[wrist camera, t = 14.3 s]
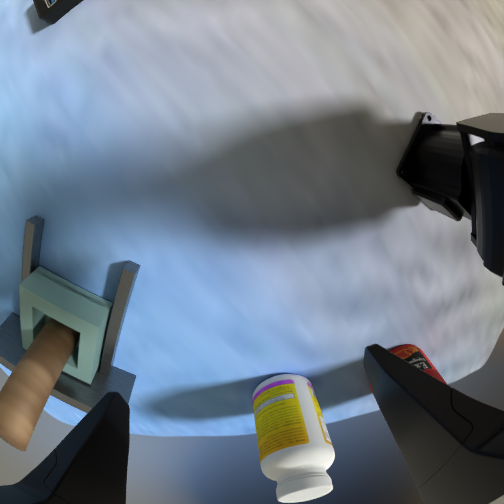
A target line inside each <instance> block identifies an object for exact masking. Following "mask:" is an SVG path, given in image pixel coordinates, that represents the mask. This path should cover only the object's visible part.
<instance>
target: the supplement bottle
mask: <svg viewBox="0 0 504 504" xmlns="http://www.w3.org/2000/svg"><path fill="white" fill-rule="evenodd" d="M252 401H253V410H254V418H255V425H256V433H257V441H258V447H259V456H260V463H261V469H262V472H263V473H264V475H265V476H267V477H268V478H270V479H272V480H275V481H277V483H278V485H277V489H276V494H277V499H278V501H279V502H283V503H294V502H302V501H307V500H311V499H314V498H318V497H321V496H323V495H325V494H327V493H329V492H330V491H332V489H333V486H332V481H331V478H330V477H329V476H328V474H326V470H327V469H328V468H329V467H330V466H331V464H332V463H333V461H334V458H335V453H334V449H333V446H332V443H331V440H330V437H329V434H328V431H327V428H326V425H325V422H324V419H323V415H322V412H321V409H320V406H319V403H318V400H317V397H316V394H315V391H314V388H313V386H312V384H311V382H310V381H309V380H308V379H307V378H305V377H303V376H300V375H295V374H282V375H277V376H274V377H271V378H269V379H267V380H265V381H263V382H262V383H260V384H259V385H258V386H257V387H256V389H255V390H254V392H253V396H252Z"/></svg>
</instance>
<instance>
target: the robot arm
mask: <svg viewBox="0 0 504 504" xmlns="http://www.w3.org/2000/svg"><path fill="white" fill-rule="evenodd" d="M427 116H428V118H429V120H428V119H427ZM456 124H457V125H448V124H441V123H440V122H439V121H438V120H437V119H436V118H435V117H434V116H433V115H432V114H431V113H429V112H425V113H423V115H422V117H421V119H420V122H419V124H418V126H417V128H416V131H415V133H414V135H413V137H412V139H411V141H410V143H409V146H408V148H407V150H406V152H405V154H404V156H403V158H402V160H401V162H400V164H399V166H398V168H397V171H396V174H397V176H398V177H399V178H400V179H401V180H403V181H404V182H405V183H406V184H408V185H409V186H410V187H411V188H412V193H413V194H414V195H415V196H416V197H417V198H418V199H420V200H421V201H422V202H423V203H424V204H425V205H427V206H428V207H429V208H431V209H433V210H435V211H437V212H439V213H442V214H444V215H446V216H448V217H450V218H452V219H454V220H456V221H460V220H461V219H462V217H463V216H464V217H466V218H468V219H470V220H472V233H471V241H472V242H473V243H474V245H475V246H476V247H477V251H478V253H479V255H480V256H481V258H482V260H483V261H484V262H483V265H484V266H485V267H486V268H487V269H488V270H490V271H491V272H492V273H494V274H496V275H498V276H500V277H502V278H503V281H502V285H503V286H504V113H489V114H485V115H481V116H477V117H474V118H470V119H466V120H463V121H459V122H456ZM402 170H403V171H404V173H403V175H402V173H401V172H402ZM364 368H365V371H366V374H367V376H368V379H369V382H370V385H371V387H372V390H373V393H374V396H375V399H376V401H377V404H378V406H379V408H380V410H381V412H382V414H383V416H384V418H385V420H386V422H387V424H388V426H389V428H390V430H391V432H392V434H393V436H394V438H395V440H396V442H397V445H398V447H399V449H400V451H401V453H402V455H403V457H404V459H405V461H406V463H407V466H408V468H409V470H410V472H411V474H412V477H413V479H414V481H415V483H416V485H417V488H418V490H419V493H420V495H421V497H422V499H423V502H424V504H504V411H502V410H500V409H497V408H495V407H492V406H489V405H487V404H485V403H482V402H480V401H477V400H475V399H473V398H471V397H469V396H467V395H465V394H463V393H461V392H459V391H458V390H456V389H454V388H451V387H450V386H449V385H447V384H445V383H443V382H442V381H440V380H438V379H436V378H435V377H433V376H431V375H430V374H428V373H426V372H424V371H423V370H421V369H419V368H417V367H416V366H414V365H412V364H410V363H409V362H407V361H405V360H404V359H402V358H400V357H398V356H397V355H395V354H393V353H392V352H390V351H388V350H387V349H385V348H383V347H381V346H380V345H378V344H373V345H370V346H367V347H366V348H365V353H364ZM129 415H130V409H129V405H128V403H127V402H126V401H125V400H124V398H123V397H122V396H121V394H120V393H119V392H117V391H110V392H107V393H106V394H105V395H104V397H103V398H102V399H101V400H100V401H99V402H98V403H97V404H96V405H95V406H94V407H93V408H92V409H91V410H90V411H89V412H88V414H87V415H86V416H85V417H84V418H83V419H82V420H81V421H80V422H79V423H78V424H77V425H76V426H75V427H74V429H73V430H72V431H71V432H70V433H69V434H68V435H67V436H66V437H65V438H64V439H63V440H62V441H61V442H60V444H59V445H58V446H57V447H56V448H55V449H54V450H53V451H52V452H51V453H50V454H49V455H48V456H47V457H46V458H45V459H44V460H43V461H42V462H41V463H40V464H39V465H38V466H37V467H36V468H35V469H34V470H32V471H31V472H30V473H29V474H28V475H27V476H26V477H24V478H23V479H22V480H21V481H20V482H18V483H16V484H13V485H5V486H0V504H126V481H127V466H128V454H129Z"/></svg>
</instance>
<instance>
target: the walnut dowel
mask: <svg viewBox="0 0 504 504" xmlns="http://www.w3.org/2000/svg"><path fill="white" fill-rule="evenodd" d="M79 340H80V332H78V331H76V330H74V329H72V328H70V327H68V326H66V325H64V324H62V323H61V322H59V321H57V320H55V319H53V318H50V319H49V320H48V322H47V323H46V324H45V326H44V327H43V328H42V330H41V331H40V332H39V334H38V335H37V336H36V338H35V339H34V341H33V342H32V343H31V345H30V346H29V348H28V349H27V351H26V352H25V353H24V355H23V356H22V358H21V359H20V361H19V362H18V364H17V366H16V367H15V369H14V370H13V372H12V373H11V375H10V376H9V378H8V380H7V382H6V383H5V385H4V386H3V388H2V390H1V391H0V437H1V438H2V439H3V440H4V441H6V442H7V443H9V444H10V445H12V446H13V447H15V448H17V449H19V450H21V451H26V448H27V446H28V443H29V441H30V438H31V436H32V433H33V431H34V428H35V426H36V424H37V421H38V419H39V417H40V414H41V413H42V410H43V408H44V406H45V404H46V402H47V400H48V398H49V396H50V394H51V392H52V390H53V388H54V386H55V384H56V382H57V380H58V378H59V376H60V374H61V372H62V370H63V368H64V366H65V365H66V363H67V361H68V359H69V357H70V355H71V354H72V352H73V350H74V348H75V347H76V345H77V343H78V341H79Z"/></svg>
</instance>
